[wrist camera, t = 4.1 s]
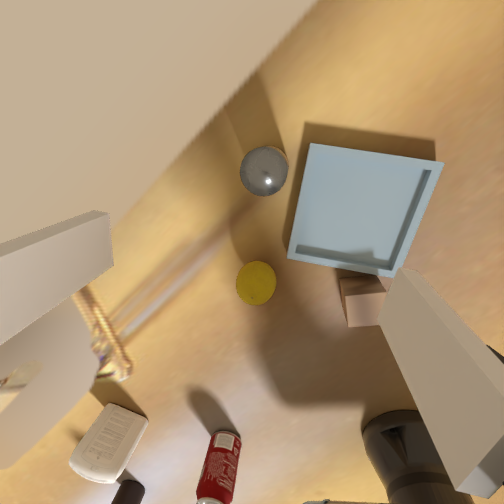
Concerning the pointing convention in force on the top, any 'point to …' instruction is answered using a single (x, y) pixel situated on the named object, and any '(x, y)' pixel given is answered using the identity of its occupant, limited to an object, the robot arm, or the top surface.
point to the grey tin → (264, 170)
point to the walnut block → (362, 299)
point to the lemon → (256, 283)
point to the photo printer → (108, 444)
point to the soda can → (219, 469)
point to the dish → (360, 208)
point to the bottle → (129, 493)
